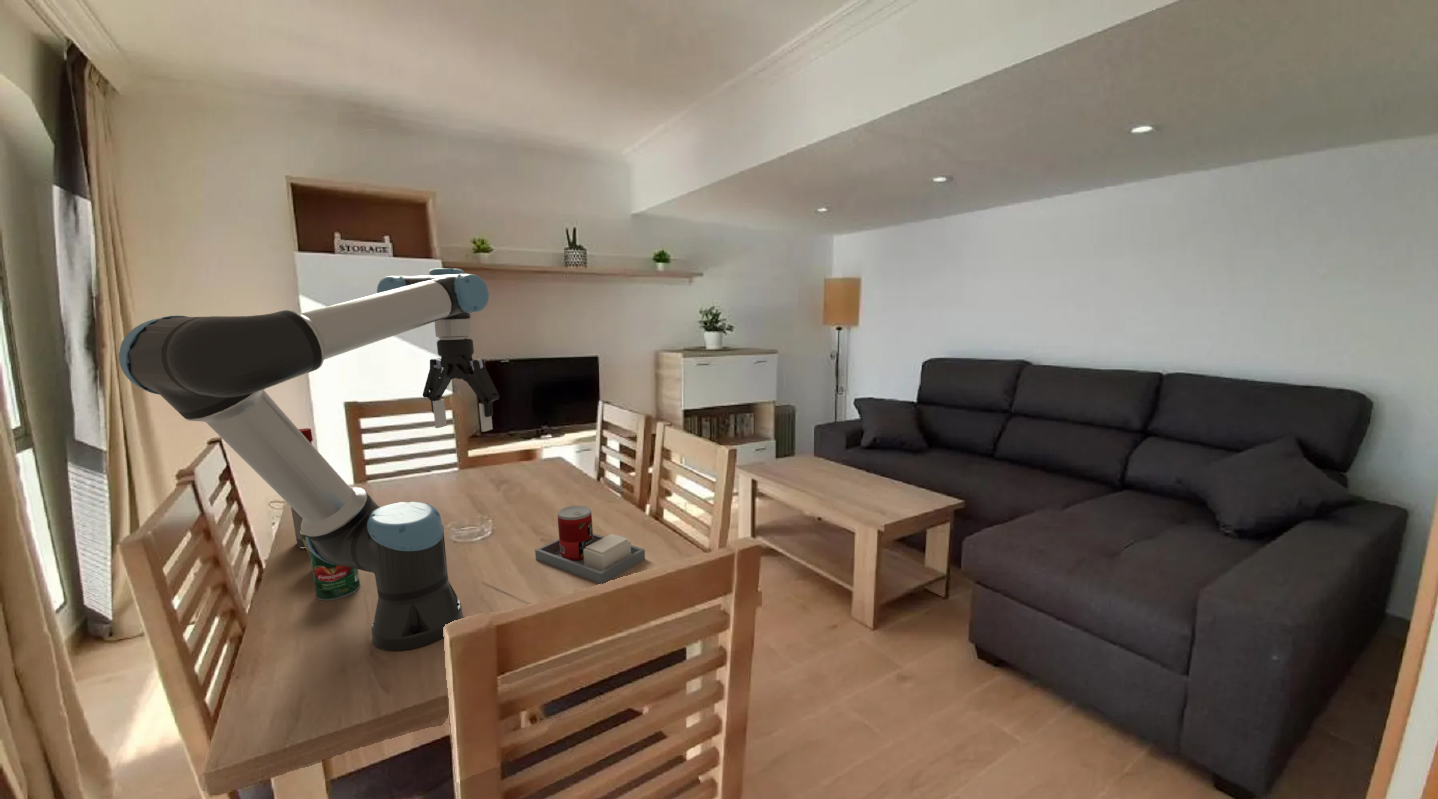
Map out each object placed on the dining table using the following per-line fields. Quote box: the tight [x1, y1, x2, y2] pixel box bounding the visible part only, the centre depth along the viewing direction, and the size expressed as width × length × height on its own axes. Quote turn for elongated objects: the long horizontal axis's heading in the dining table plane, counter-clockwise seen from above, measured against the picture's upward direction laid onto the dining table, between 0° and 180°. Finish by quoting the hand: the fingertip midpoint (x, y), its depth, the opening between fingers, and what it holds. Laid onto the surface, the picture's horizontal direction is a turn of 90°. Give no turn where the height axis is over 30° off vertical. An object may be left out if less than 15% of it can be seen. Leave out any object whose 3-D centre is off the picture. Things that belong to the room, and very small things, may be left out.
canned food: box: [557, 505, 594, 561], centre depth 131 cm, size 8×8×11 cm
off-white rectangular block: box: [583, 533, 632, 571], centre depth 126 cm, size 6×9×6 cm, turn 146°
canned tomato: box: [309, 550, 361, 601], centre depth 117 cm, size 8×8×11 cm
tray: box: [534, 532, 646, 585], centre depth 129 cm, size 22×14×3 cm, turn 56°
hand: (463, 428), depth 129 cm, fingers open, 13 cm apart
